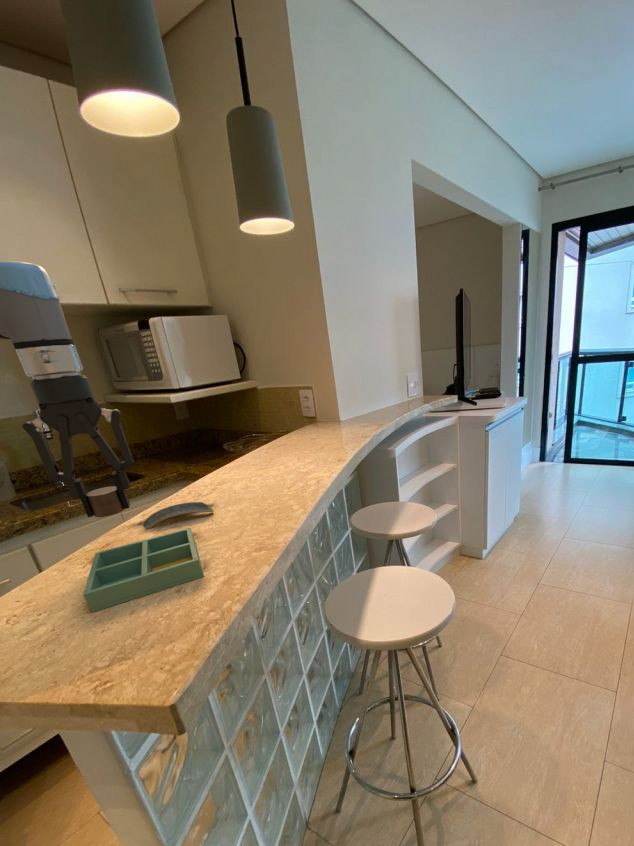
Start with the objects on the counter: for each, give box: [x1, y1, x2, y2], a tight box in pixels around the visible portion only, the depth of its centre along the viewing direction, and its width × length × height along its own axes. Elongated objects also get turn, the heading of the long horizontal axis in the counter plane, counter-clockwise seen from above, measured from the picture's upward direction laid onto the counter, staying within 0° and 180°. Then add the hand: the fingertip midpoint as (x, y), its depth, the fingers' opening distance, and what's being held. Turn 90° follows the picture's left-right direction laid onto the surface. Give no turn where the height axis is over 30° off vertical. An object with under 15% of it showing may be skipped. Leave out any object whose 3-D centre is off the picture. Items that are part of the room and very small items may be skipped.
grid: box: [83, 527, 205, 613], centre depth 67 cm, size 15×15×3 cm
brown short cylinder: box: [86, 485, 126, 518], centre depth 73 cm, size 5×5×4 cm
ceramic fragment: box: [142, 501, 215, 530], centre depth 89 cm, size 14×5×4 cm, turn 109°
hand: (109, 510), depth 74 cm, fingers closed on brown short cylinder, 5 cm apart
